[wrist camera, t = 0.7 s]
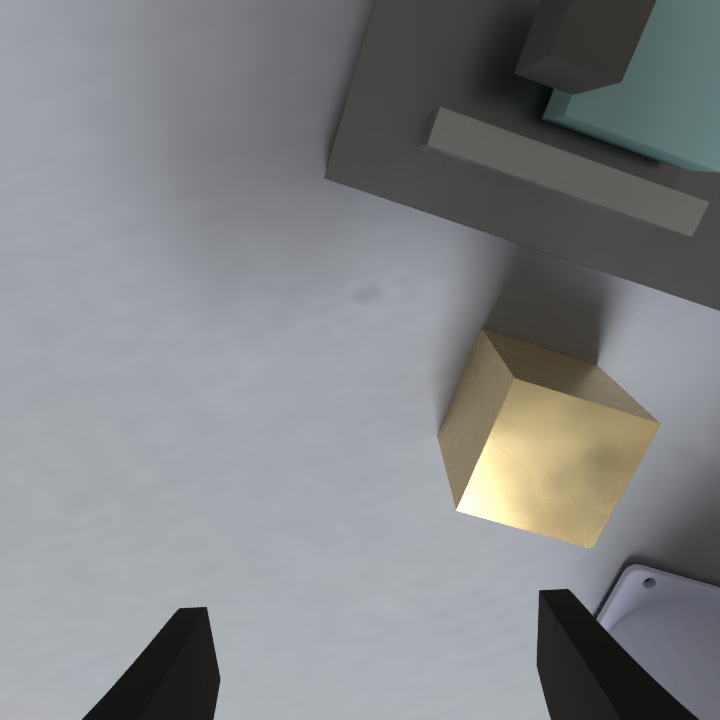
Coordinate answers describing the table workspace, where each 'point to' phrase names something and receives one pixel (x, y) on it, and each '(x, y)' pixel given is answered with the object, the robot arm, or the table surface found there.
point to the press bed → (514, 151)
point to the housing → (541, 440)
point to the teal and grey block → (632, 74)
